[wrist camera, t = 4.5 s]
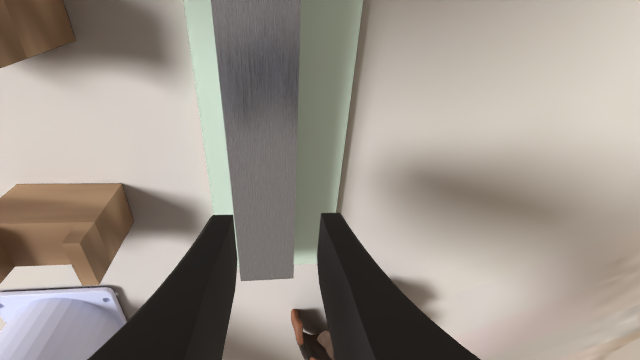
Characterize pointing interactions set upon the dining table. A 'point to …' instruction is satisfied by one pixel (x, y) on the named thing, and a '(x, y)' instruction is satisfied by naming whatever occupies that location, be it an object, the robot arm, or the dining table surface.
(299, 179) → the mat
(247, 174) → the rail
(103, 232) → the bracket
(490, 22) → the dining table surface
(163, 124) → the dining table surface
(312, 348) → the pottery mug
